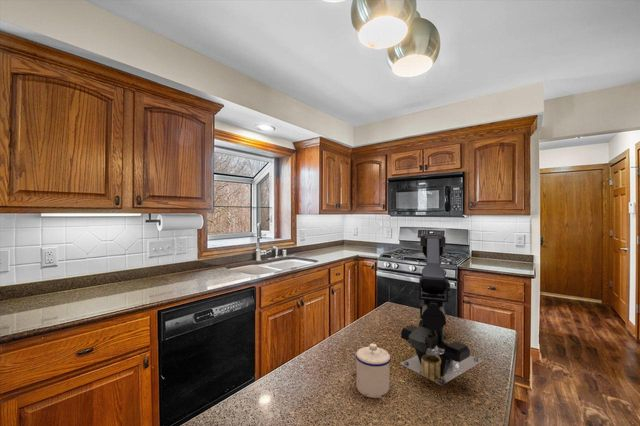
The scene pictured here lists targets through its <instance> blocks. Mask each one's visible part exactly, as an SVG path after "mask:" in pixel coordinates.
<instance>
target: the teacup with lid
mask: <svg viewBox="0 0 640 426" xmlns="http://www.w3.org/2000/svg"><path fill="white" fill-rule="evenodd" d="M390 362H391V355H390V354H389V352H388V351H387V350H385V349H383V348H380V347H378V346H377V344H376V343H370V344H369V345H368V346H363V347H361V348H359V349H358V350H357V351H356V352H355V354H354V363H355V366H356V382H355V383H356V389H357V391H358V392H359V393H360V394H361V395H363V396H364V397H366V398H367V397H368V398H373V399H380V398H383V396H384V395H386V394H387V393H388V392H389V391H390V374H391V373H390V371H391V370H390V369H391V368H390Z"/></svg>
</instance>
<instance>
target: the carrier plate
mask: <svg viewBox="0 0 640 426" xmlns="http://www.w3.org/2000/svg"><path fill="white" fill-rule="evenodd" d="M443 352H444V351H443V349H441V348H439V347H435V348H434V349H433V350H432V349H430V348H429V349H427V351H426V354H430V355H431V354H434V355H437V356H439V355H440V354H442V353H443ZM482 362H484V359H480V358H478V357H475V356H474V355H471V354H470V357H468V358H466V359H464V360H462V361H461V362H456V361H454V360H453V361H452V362H451V364H450V366H449V368H448V370H447V372H446V374H445V376H444V377H443V378H438V379H435V378H434V379H433V378H429V377H427V376H425V375H423V373H422V372H421V364H420V361H419V358H418V355H417V354H416V355H414V356H411V357H410V358H408V359H406V360H403V361H401V362H399V365H401V366H403V367H406V368H407V369H409V370H411V371H413V372H414V373H417V374H419V375H421V376H423V377H425V378H427V379H428V380H430V381H432V382H434V383H435V384H438V385H440V386H443V385H446V384H447V383H449V382H450V381H452V380H453V379H455V378H457V377H458V376H461V374H463V373H465V372H467V371H469V370H470V369H471V368H474V367H476V366H477V365H478V364H480V363H482Z"/></svg>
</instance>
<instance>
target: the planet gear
mask: <svg viewBox="0 0 640 426" xmlns="http://www.w3.org/2000/svg"><path fill="white" fill-rule="evenodd" d="M421 372H422V373H423V375H425V376H427V377H429V378H433V379H434V378H435V379H438V378H443V377H441V359H440V357H439V356H437V355H434V354H431V355H430V354H426V355H425V354H424V355H422V357H421Z"/></svg>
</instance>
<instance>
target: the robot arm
mask: <svg viewBox="0 0 640 426" xmlns="http://www.w3.org/2000/svg"><path fill="white" fill-rule="evenodd" d="M419 237H420V239H419V240H420V241H419V242H420V243H419V246H420V247H421V248H422V249H421V250H422V254H423V255H424V257H425V258H426V259H425V260H426V262H425V263H426V265H425V266H424V267H423V268H422V269H421V276H420V275H419V279H418V280H419V281H418V282H419V283H418V284H419V285H418V300H421V301H422V302H420V303H419V315H420V316H419V322H418V326H415V325H413V324H410V325H408V326H405V327H402V329H401V330H400V338H401V339H403V340H406V341H407V342H408V344H409V345H410V347H411V348H412V349H414V350H415V352H416V355H418V358H419V361H420V364H421V357H422V355H424V354H425V355H426V351H427V350H430V349H432V350H433V349H434V348H435V347H439V348H441V349H443V351H444V352H443V353H442V354H440V355H439V357H440V359H441V377H444V376H445V374H446V372H447V370H448V368H449V366H450V364H451V362H452V361H453V360H454V361H456V362H461V361H462V360H464V359H466V358H468V357H470V355H471V354H470V353H471V351H470V348H469V347H468V345H465V344H464V343H460V342H457V341H456V340H454V341H453V342H451V343H448V342H446V341H444V340H447V335H446V334H444V330H445V328H444V327H445V326H447V320H446V308H445V303H449V299H451V283H450V281H449V278H447V277H446V272H445V270H444V269H443V268H442V267H441V256H442V255H443V254H444V248H446V245H447V243H446V241H447V240H446V236H443V235H442V234H440V233H423V235H420V236H419ZM444 294H445V295H444Z"/></svg>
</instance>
